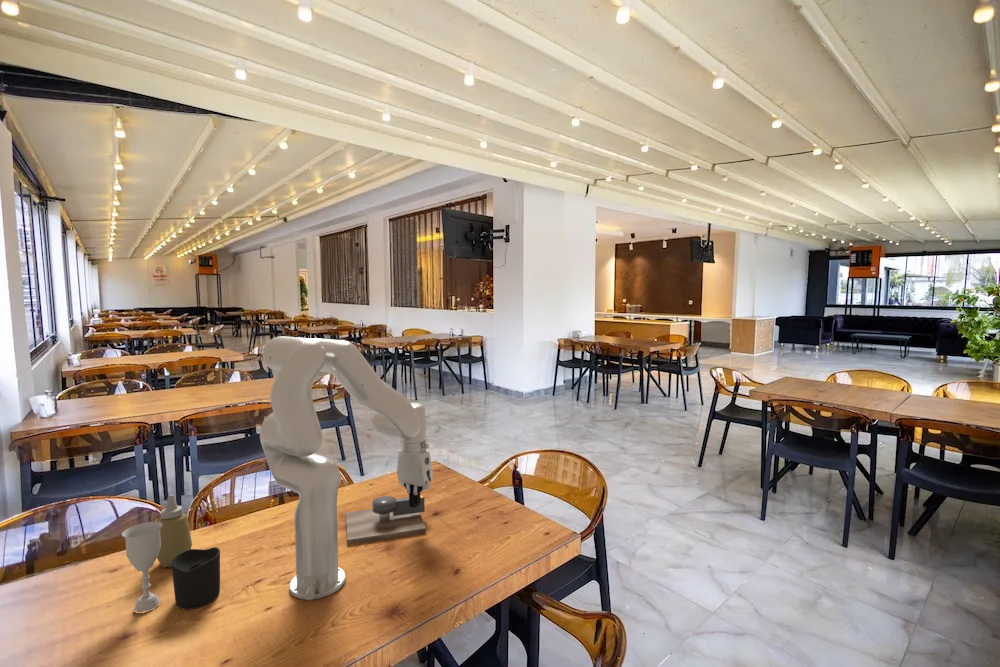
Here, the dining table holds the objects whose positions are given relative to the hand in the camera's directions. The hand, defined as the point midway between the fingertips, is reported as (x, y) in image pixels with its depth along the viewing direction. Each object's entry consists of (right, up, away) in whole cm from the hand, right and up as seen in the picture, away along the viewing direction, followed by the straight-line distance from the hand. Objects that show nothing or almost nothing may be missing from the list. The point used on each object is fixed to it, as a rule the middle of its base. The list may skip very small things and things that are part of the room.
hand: (414, 505), depth 144 cm
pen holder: (-44, -10, -32) cm, 56 cm away
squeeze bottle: (-60, -9, -17) cm, 63 cm away
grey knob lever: (-6, -4, +4) cm, 8 cm away
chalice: (-54, -10, -35) cm, 65 cm away
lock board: (-10, -7, +3) cm, 12 cm away
